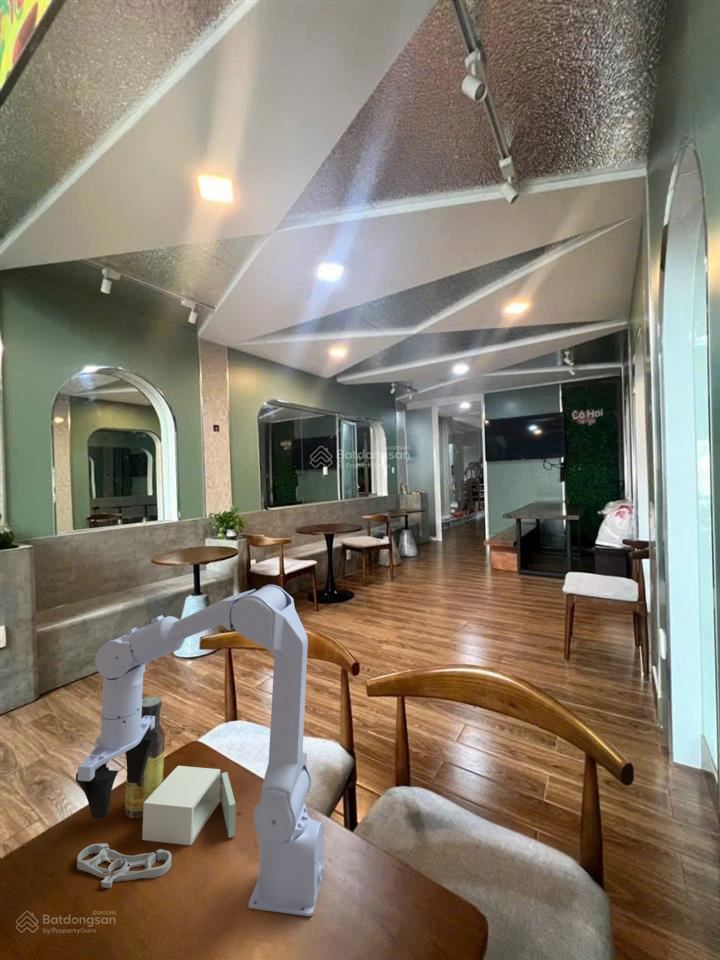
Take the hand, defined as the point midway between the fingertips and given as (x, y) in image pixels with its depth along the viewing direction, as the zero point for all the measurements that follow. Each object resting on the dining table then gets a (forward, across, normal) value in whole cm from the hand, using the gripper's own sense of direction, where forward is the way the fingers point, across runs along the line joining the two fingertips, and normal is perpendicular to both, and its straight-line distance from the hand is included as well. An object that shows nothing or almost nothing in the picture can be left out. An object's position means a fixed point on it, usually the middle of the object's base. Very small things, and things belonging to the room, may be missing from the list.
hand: (118, 798), depth 63 cm
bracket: (+11, 0, +1) cm, 11 cm away
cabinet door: (+10, -11, +13) cm, 20 cm away
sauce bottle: (+10, -12, -4) cm, 16 cm away
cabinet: (+10, -10, +6) cm, 15 cm away
